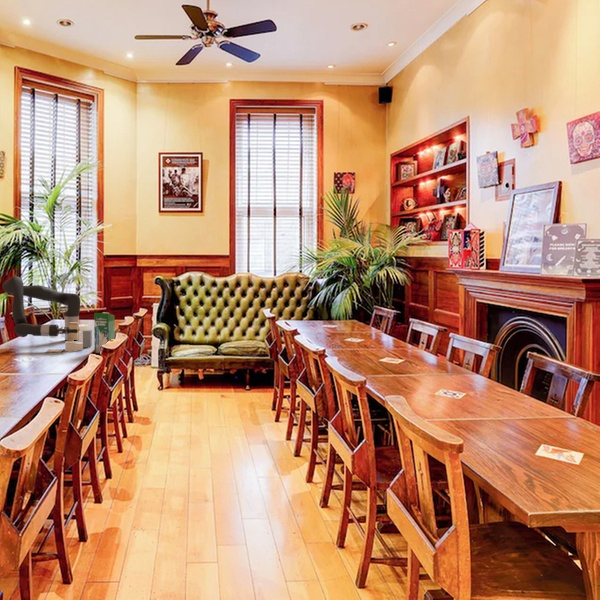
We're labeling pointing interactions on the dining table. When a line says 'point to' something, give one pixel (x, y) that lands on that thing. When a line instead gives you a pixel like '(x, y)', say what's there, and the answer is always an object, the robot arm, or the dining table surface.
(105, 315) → the milk carton
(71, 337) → the maple block
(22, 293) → the robot arm
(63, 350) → the tile
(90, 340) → the slate block
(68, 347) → the base block
